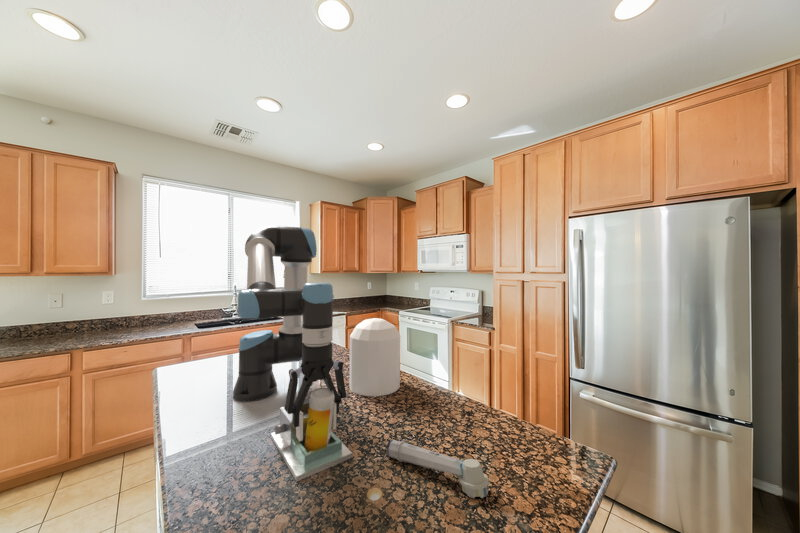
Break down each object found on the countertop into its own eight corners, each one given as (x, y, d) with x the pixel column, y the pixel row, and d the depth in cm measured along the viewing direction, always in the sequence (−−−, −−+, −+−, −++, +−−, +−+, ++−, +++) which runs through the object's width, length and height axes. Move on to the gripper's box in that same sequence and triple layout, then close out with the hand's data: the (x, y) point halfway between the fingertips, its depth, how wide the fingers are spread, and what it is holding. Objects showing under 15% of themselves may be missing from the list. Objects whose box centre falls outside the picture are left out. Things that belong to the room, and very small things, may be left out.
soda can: (307, 442, 77) (313, 386, 77) (330, 443, 78) (336, 387, 77) (301, 457, 71) (308, 396, 71) (326, 458, 72) (333, 398, 71)
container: (409, 382, 124) (409, 316, 124) (380, 401, 106) (380, 324, 107) (370, 373, 135) (371, 312, 136) (338, 388, 117) (338, 318, 118)
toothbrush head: (395, 434, 78) (488, 455, 64) (398, 461, 77) (492, 487, 63) (384, 444, 73) (480, 468, 60) (386, 472, 73) (485, 503, 59)
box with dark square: (269, 437, 82) (269, 401, 83) (318, 421, 91) (318, 389, 91) (294, 482, 65) (295, 436, 65) (352, 457, 74) (352, 417, 74)
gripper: (279, 353, 65) (277, 455, 65) (360, 340, 78) (359, 425, 78) (270, 346, 71) (269, 439, 71) (347, 335, 84) (346, 414, 84)
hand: (316, 432), depth 74 cm, fingers open, 8 cm apart
